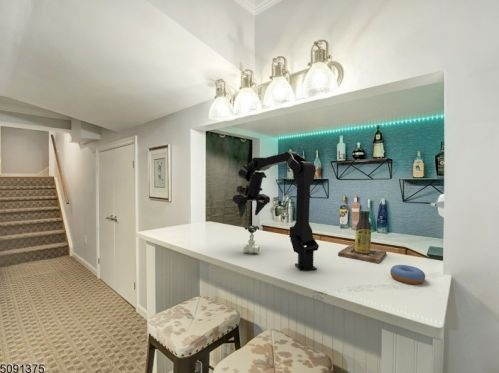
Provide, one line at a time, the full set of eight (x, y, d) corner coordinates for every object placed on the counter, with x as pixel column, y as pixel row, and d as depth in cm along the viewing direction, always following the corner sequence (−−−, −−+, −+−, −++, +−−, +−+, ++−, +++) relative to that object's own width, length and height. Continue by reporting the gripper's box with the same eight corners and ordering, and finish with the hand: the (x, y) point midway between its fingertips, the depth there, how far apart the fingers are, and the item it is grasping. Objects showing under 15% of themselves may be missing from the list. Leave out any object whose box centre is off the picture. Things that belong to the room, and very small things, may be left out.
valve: (257, 256, 110) (257, 228, 109) (242, 255, 111) (242, 227, 111) (260, 252, 116) (260, 225, 116) (245, 251, 117) (246, 225, 117)
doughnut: (430, 286, 79) (429, 271, 80) (394, 284, 82) (394, 269, 83) (419, 278, 89) (418, 264, 89) (387, 276, 92) (386, 263, 92)
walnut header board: (386, 254, 114) (386, 251, 114) (378, 263, 101) (378, 259, 101) (349, 248, 124) (349, 245, 124) (338, 255, 111) (338, 252, 111)
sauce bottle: (356, 256, 110) (357, 210, 110) (353, 252, 116) (354, 209, 116) (372, 257, 109) (373, 211, 108) (368, 253, 115) (369, 209, 115)
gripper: (258, 179, 129) (252, 208, 133) (228, 179, 117) (223, 210, 121) (273, 186, 121) (267, 216, 125) (243, 187, 109) (236, 220, 113)
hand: (248, 216), depth 121 cm, fingers open, 9 cm apart
